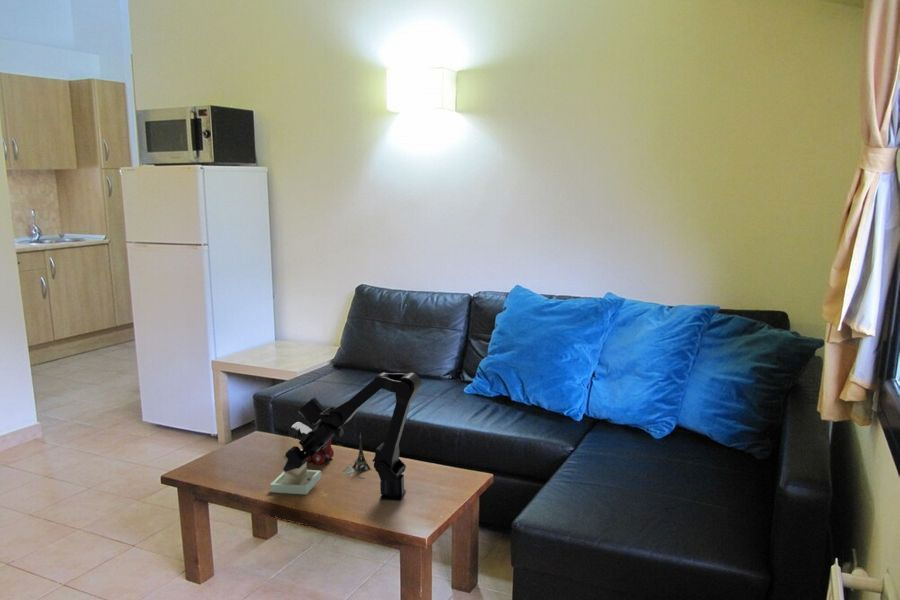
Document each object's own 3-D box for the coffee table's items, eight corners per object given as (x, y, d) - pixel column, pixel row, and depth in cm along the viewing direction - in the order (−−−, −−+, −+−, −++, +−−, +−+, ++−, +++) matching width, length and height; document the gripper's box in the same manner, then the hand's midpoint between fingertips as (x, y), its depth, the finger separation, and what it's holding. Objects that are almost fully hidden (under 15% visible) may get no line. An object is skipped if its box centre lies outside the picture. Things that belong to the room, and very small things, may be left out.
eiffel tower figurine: (356, 460, 236) (355, 423, 234) (383, 462, 233) (382, 426, 230) (337, 476, 221) (335, 438, 219) (365, 480, 218) (363, 441, 216)
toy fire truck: (309, 453, 241) (308, 426, 239) (337, 459, 235) (336, 430, 234) (297, 460, 235) (295, 432, 233) (326, 466, 229) (324, 437, 228)
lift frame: (321, 477, 219) (320, 470, 219) (306, 494, 207) (306, 486, 207) (286, 475, 222) (286, 468, 221) (270, 492, 209) (270, 484, 209)
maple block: (307, 482, 216) (305, 449, 215) (299, 489, 211) (297, 456, 209) (293, 480, 218) (291, 448, 216) (285, 487, 212) (283, 454, 211)
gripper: (317, 406, 219) (289, 436, 223) (289, 425, 201) (259, 457, 206) (340, 431, 218) (311, 460, 222) (314, 452, 200) (283, 483, 205)
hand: (291, 464), depth 214 cm, fingers open, 9 cm apart
